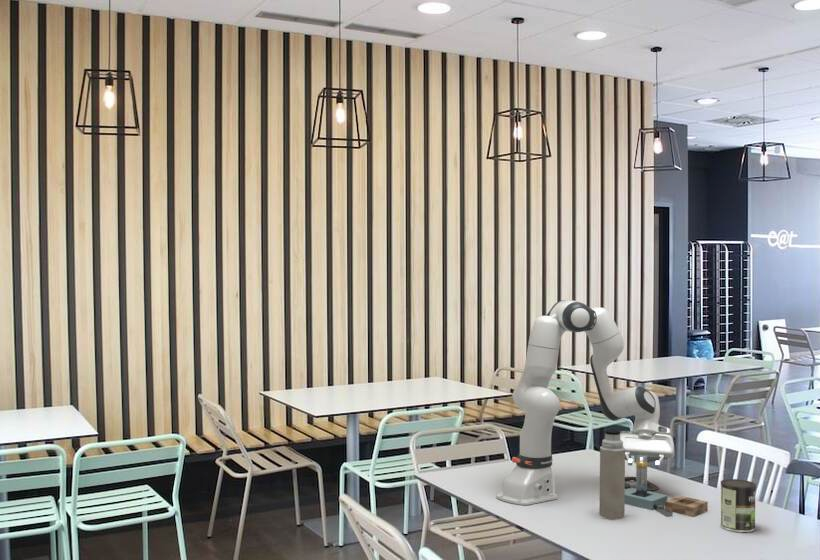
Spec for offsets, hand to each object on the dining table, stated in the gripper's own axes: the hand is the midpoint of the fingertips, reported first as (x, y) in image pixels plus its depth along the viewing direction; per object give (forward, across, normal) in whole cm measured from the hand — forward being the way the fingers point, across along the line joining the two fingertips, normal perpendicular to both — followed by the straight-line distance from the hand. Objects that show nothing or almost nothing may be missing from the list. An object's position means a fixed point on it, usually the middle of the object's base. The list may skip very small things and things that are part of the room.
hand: (643, 465), depth 298 cm
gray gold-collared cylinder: (+12, 0, +4) cm, 13 cm away
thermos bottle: (+25, -8, -9) cm, 28 cm away
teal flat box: (+12, 0, +4) cm, 13 cm away
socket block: (+15, +14, +1) cm, 21 cm away
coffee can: (+25, +30, -8) cm, 40 cm away
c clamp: (-2, -5, +20) cm, 20 cm away
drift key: (+19, +7, -2) cm, 20 cm away
